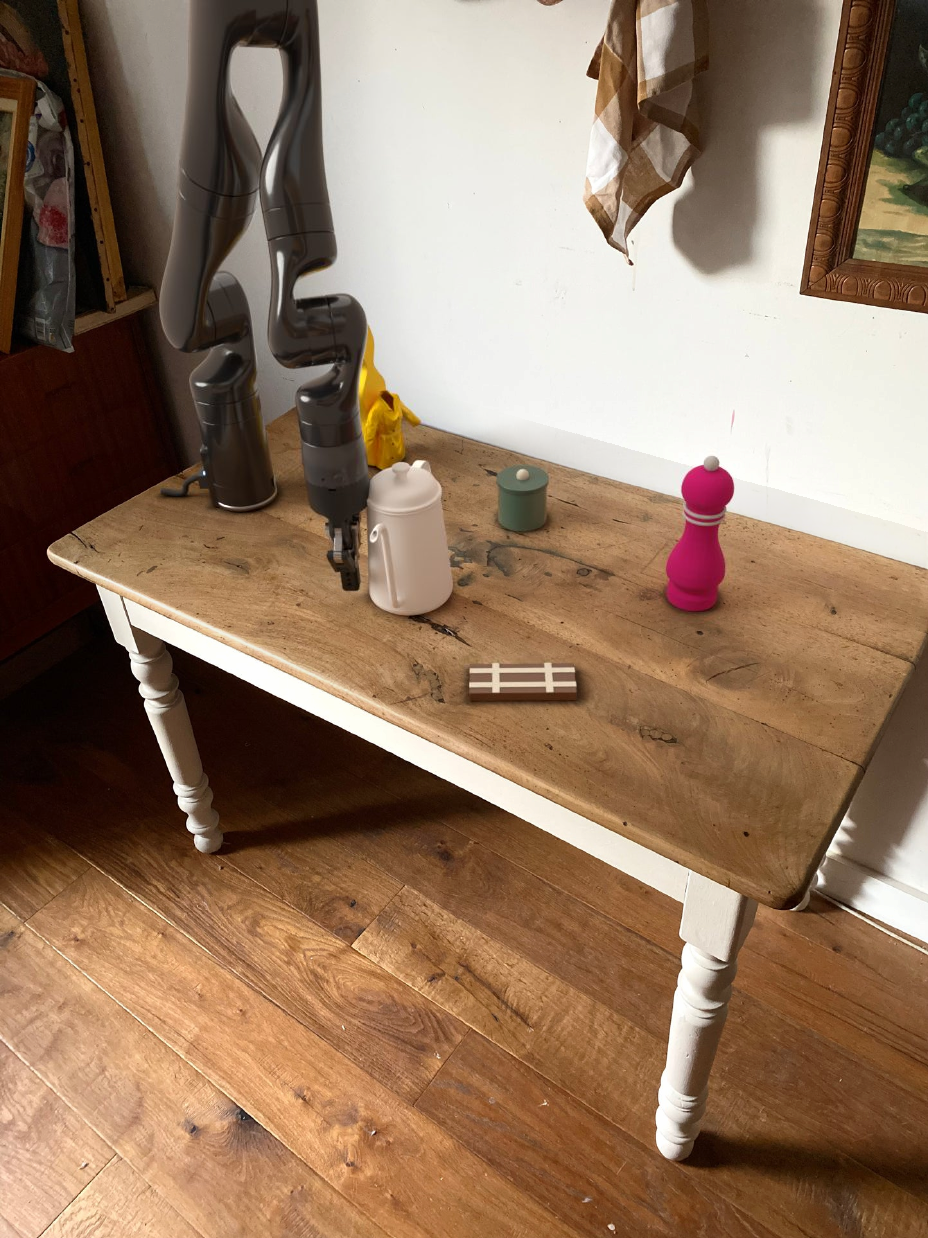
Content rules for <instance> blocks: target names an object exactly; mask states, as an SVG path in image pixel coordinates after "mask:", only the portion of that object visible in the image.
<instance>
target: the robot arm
mask: <svg viewBox="0 0 928 1238" xmlns="http://www.w3.org/2000/svg"><path fill="white" fill-rule="evenodd" d="M318 3H319V2H318V0H188V52H187V53H188V57H187V58H188V59H187V88H186V97H185V98H186V99H185V107H184V109H185V111H184V120H183V126H182V127H183V128H182V135H181V143H180V149H179V159H178V168H177V178H176V195H175V196H176V197H175V207H174V208H175V209H174V216H173V217H174V218H173V226H172V233H171V239H170V240H171V241H170V246H169V251H168V254H167V255H168V256H167V259H166V264H165V268H164V271H163V276H162V281H161V286H160V291H159V299H158V301H159V303H158V307H159V318H160V323H161V328H162V330H163V333H164V335H165V337H166V339H167V341H168V342H169V343H170V345H172V347H173V348H175V349H176V350H178V351H179V352H182V353H184V354H198V353H203V352H206V351H208V350H210V351H209V352H208V354H207V355H206V356H205V358H204V360H203V361H201V363H200V364H198V365H197V366H196V367H195V368H194V369H193V370H192V371H191V373H190V375H189V379H188V382H189V383H188V384H189V389H190V393H191V398H192V403H193V406H194V410H195V415H196V419H197V423H198V427H199V431H200V436H201V441H202V445H201V447H200V448H199V455H200V459H201V463H202V465H201V467H200V469H199V471H198V473H196V474H193V475H190V476H189V477H188V478H187V477H186V479H185V480H184V481H183V482H182V487H181V489H171V488H166V487H165V488H164V487H162V488H161V489H160V494H161V495H162V496H163V495H164V496H170V497H183V496H186V495H187V494H188V493H189V491H190V485H191V484H193V483H195V482H197V483H198V486H199V490H208V492H209V498H210V501H211V506H212V507H213V508H214V507H216V508H221V509H223V510H226V511H230V512H237V513H238V512H239V513H240V512H241V513H242V512H250V511H254V510H258V509H262V508H264V507H266V506H267V505H269V504H271V503H272V502H273V501H274V500H275V499H276V497H277V495H278V487H277V484H276V481H277V480H276V479H277V476H276V472H275V471H274V467H273V462H272V458H271V457H272V456H271V452H270V446H269V441H268V434H267V429H266V425H265V419H264V413H263V407H262V402H261V396H260V392H259V385H258V380H257V379H258V378H257V377H258V370H259V364H258V356H257V350H256V341H255V340H256V339H255V332H254V324H253V317H252V312H251V311H252V310H251V306H250V302H249V298H248V297H247V293H246V291H245V288H244V287H243V285H242V283H241V281H240V280H239V279H238V278H237V277H236V275H235V274H233V273H232V272H230V271H229V270H226V269H220V268H221V266H222V265H223V264H224V262H225V261H226V260H227V259H228V257H229V256H230V255H231V254H232V252H233V251H234V249H235V248H236V247H237V246H238V244H239V243H240V242H241V240H242V239H243V238H244V236H245V234H246V233H247V232H248V231H249V229H250V227H251V225H252V223H253V221H254V219H255V216H256V214H257V210H258V206H259V204H260V208H261V214H262V219H263V224H264V226H263V227H264V231H265V236H266V241H267V248H268V254H269V261H270V297H269V298H270V299H269V308H268V317H267V331H266V332H267V333H266V335H267V344H268V347H269V351H270V352H271V355H272V356H273V358H274V359H275V360H276V362H277V363H279V364H280V365H281V366H282V367H284V368H286V369H289V370H297V369H305V368H311V367H318V366H325V365H332V364H333V365H332V366H331V368H330V370H328V371H327V372H326V373H325V374H322V375H320V376H317V377H315V378H314V379H311V380H309V381H307V382H305V383H303V384H302V385H300V386H299V387H298V389H297V390H296V392H295V399H294V400H295V401H294V402H295V409H296V415H297V423H298V427H299V435H300V443H301V444H300V449H301V450H300V455H301V462H302V469H303V474H304V481H305V487H306V494H307V500H308V505H309V508H310V509H311V510H312V512H314V513H315V514H317V515H319V516H321V517H324V518H326V519H327V521H325V522H324V532H325V536H326V537H327V539H328V543H329V550H327V552H326V555H325V556H326V558H327V561H328V563H329V565H330V566H331V568H332V569H333V571H334V573H339V574H340V582H341V588H342V590H343V591H344V592H358V591H359V590H360V587H361V582H362V581H361V573H360V571H361V570H360V564H359V560H360V558H361V553H360V549H361V546H362V542H361V541H362V531H361V530H362V529H361V522H362V512H363V511H364V510H366V509H367V506H368V505H367V499H368V497H369V487H370V481H371V479H370V471H369V465H368V461H367V452H366V446H365V442H364V438H363V434H362V427H361V418H360V408H359V383H360V374H361V368H362V363H363V358H364V353H365V348H366V342H367V334H368V325H369V324H368V319H367V318H368V317H367V315H366V311H365V309H364V307H363V306H362V304H361V303H360V302H359V300H358V299H357V298H356V297H355V296H353V295H351V294H350V293H347V292H336V293H329V294H328V293H327V294H322V295H312V296H306V297H296V288H297V285H298V284H299V282H300V281H302V279H304V278H306V277H308V276H310V275H313V274H316V273H319V272H323V271H325V270H327V269H330V268H332V267H333V266H334V265H335V264H336V263H337V261H338V258H339V256H338V255H339V253H338V252H339V251H338V243H337V242H338V241H337V237H336V234H335V233H336V232H335V226H334V219H333V213H332V207H331V199H330V196H329V188H328V182H327V181H328V180H327V173H326V166H325V154H324V134H323V133H324V131H323V95H322V94H323V92H322V91H323V89H322V67H321V66H322V64H321V62H322V61H321V39H320V18H319V5H318ZM238 48H255V49H257V48H259V49H260V48H261V49H276V50H278V52H279V55H280V56H279V57H280V61H281V69H282V95H281V101H280V104H279V108H278V112H277V116H276V120H275V123H274V126H273V128H272V131H271V135H270V137H269V139H268V143H267V146H266V149H265V151H264V153H263V148H262V146H261V144H260V142H259V139H258V136H257V135H256V133H255V130H254V128H253V127H252V125H251V122H250V121H249V119H248V117H247V115H246V113H245V111H244V110H243V108H242V106H241V103H240V102H239V100H238V97H237V95H236V91H235V89H234V86H233V81H232V80H233V79H232V63H233V57H234V53H235V52H236V50H237V49H238ZM367 324H368V325H367Z"/></svg>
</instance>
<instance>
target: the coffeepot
mask: <svg viewBox="0 0 928 1238" xmlns="http://www.w3.org/2000/svg"><path fill="white" fill-rule="evenodd" d="M442 496H443V488H442V486H441V484H440V482H439V481H438V480H437V479H436V478H435V477H434V475H433V474H432V468H431V465H430V463H429V461H428V460H422V459H421V460H419V459H417V460H415V461H414V462H413V464H412V465H410V463H408V462H406V461H405V462H404V461H401V462H398V463H395V464H393V465H392V467H391V468H388V469H385V470H381V471H379V472H378V473H376V474H374V475H373V477H371V479H370V487H369V497H368V499H367V505H368V506H367V507H366V536H367V537H366V538H367V540H366V541H367V568H368V569H367V570H368V571H367V572H368V575H367V577H368V594H369V596H370V599H371V600H372V602H373V603H374V604H375V605H376V606H377V607H378V608H380V609H381V610H383V611H384V612H387V613H390V614H394V615H398V616H417V615H418V616H419V615H423V614H427V613H430V612H432V611H434V610H437V609H438V608H440V607H441V606H443V604H445V603H446V602H447V601H448V599H449V598H450V597H451V595H452V592H453V589H454V588H453V587H454V581H453V576H452V575H453V574H452V567H451V560H450V554H449V547H448V546H449V545H448V539H447V533H446V525H445V518H444V512H443V505H442Z"/></svg>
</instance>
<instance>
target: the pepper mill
mask: <svg viewBox="0 0 928 1238" xmlns="http://www.w3.org/2000/svg"><path fill="white" fill-rule="evenodd" d="M680 493H681V496H682V498H683V500H684V502H683V505H682V508H683V509H682V512H681V514H682V517H683V518H684V519H685V525H684V529H683V533H682V535H681V537H680V538H679V540H678V542H677V543H676V544H675V546H673V548H672V550H671V551H670V553H669V555H668V557H667V560H666V565H665V574H666V577H667V578H668V582H667V586H666V599H667V600H668V601H669V603H670V604H672V606H674V607H675V608H678V609H680V610H683V611H687V612H701V611H706V610H709V609H711V608H712V607H713V606H715V604H716V603H717V600H718V593H719V585H721V583H722V582H723V581H724V579H725V576H726V559H725V556H724V553H723V550H722V546H721V545H720V540H719V528H720V524H721V523H722V522H724V521H725V519H726V513H727V508H728V507H727V505H729V504H730V503H731V500H732V499H733V497H734V495H735V482H734V479H733V476H732V475H731V473H730V472H729V471H728V470H726V469H725V468H723V467H722V466H720V459H719V458H718V457H717V456H715V455H709V456H706V457H705V458H704V460H703V464H701V465H697V466H695V467H693V468H691V469H690V470H689V471H688V472H687V473H686V474H685V476H684V478H683V479H682V483H681V485H680Z"/></svg>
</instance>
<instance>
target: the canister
mask: <svg viewBox="0 0 928 1238" xmlns="http://www.w3.org/2000/svg"><path fill="white" fill-rule="evenodd" d="M495 479H496V480H495V481H496V482H495V483H496V486H497V521H498V523H499V524H500V526H502V528H504V529H507V530H509V531H513V532H521V533H522V532H531V531H535V530H538V529H540V528H542V527H543V526H544V525H545V523H546V522H547V511H548V510H547V509H548V507H547V506H548V487H549V484H550V476H549V474H548V473H547V471H546V470H544V469H542V468H541V467H538V466H534V465H529V464H517V465H511V466H508V467H505V468H503V469H501V470H500V471H499V472H498V473H497V475H496V478H495Z"/></svg>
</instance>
